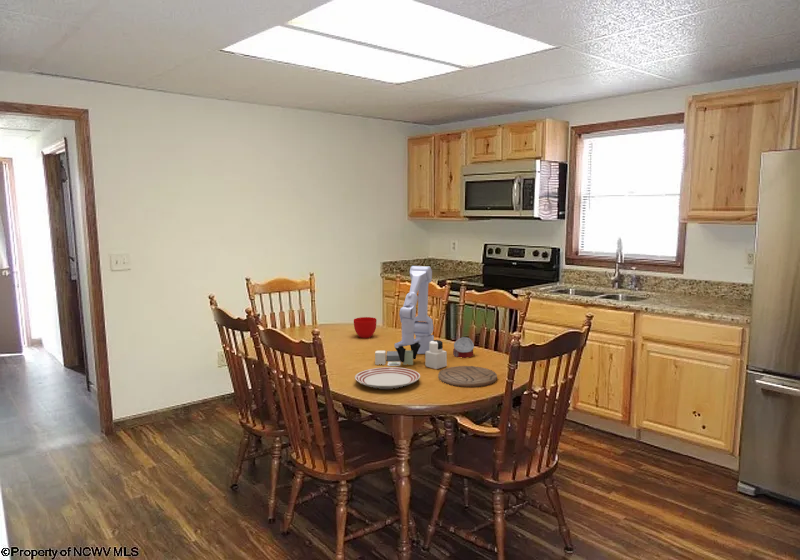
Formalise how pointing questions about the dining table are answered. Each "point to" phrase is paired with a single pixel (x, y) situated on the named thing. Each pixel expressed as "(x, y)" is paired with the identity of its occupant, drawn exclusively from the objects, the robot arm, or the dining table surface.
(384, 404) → the dining table surface
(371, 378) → the dinner plate
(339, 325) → the dining table surface
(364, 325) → the ceramic cup
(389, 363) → the card
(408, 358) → the sage block
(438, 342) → the medicine bottle
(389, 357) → the base slab
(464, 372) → the trivet
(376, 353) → the offwhite block
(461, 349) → the canned food
